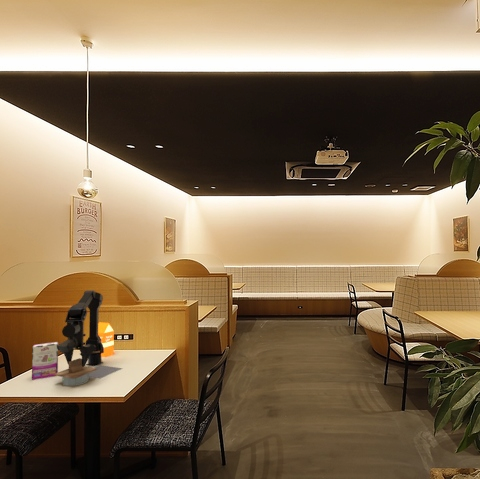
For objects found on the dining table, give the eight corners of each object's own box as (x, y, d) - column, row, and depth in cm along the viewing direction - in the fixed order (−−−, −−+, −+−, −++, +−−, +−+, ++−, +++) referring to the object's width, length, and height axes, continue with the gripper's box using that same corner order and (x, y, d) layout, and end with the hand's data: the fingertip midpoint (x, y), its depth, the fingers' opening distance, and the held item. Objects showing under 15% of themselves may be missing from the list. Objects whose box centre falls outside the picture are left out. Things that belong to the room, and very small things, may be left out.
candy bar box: (57, 373, 168) (58, 341, 169) (57, 376, 163) (58, 343, 164) (32, 377, 163) (33, 344, 164) (31, 380, 158) (32, 346, 159)
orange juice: (103, 357, 195) (104, 324, 196) (93, 356, 199) (93, 323, 200) (113, 354, 202) (114, 321, 203) (103, 352, 206) (104, 320, 207)
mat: (75, 375, 165) (75, 374, 165) (99, 365, 180) (99, 365, 180) (99, 379, 159) (100, 378, 159) (122, 369, 174) (122, 368, 174)
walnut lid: (54, 375, 152) (54, 362, 152) (77, 367, 164) (77, 355, 164) (74, 378, 147) (75, 365, 148) (97, 369, 159) (97, 357, 160)
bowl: (57, 384, 152) (57, 375, 152) (76, 377, 162) (77, 367, 163) (74, 387, 148) (75, 377, 148) (93, 379, 158) (93, 370, 159)
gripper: (48, 334, 153) (47, 368, 152) (77, 337, 146) (76, 373, 145) (68, 330, 163) (67, 361, 162) (96, 332, 156) (96, 365, 155)
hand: (76, 365), depth 156 cm, fingers open, 9 cm apart
